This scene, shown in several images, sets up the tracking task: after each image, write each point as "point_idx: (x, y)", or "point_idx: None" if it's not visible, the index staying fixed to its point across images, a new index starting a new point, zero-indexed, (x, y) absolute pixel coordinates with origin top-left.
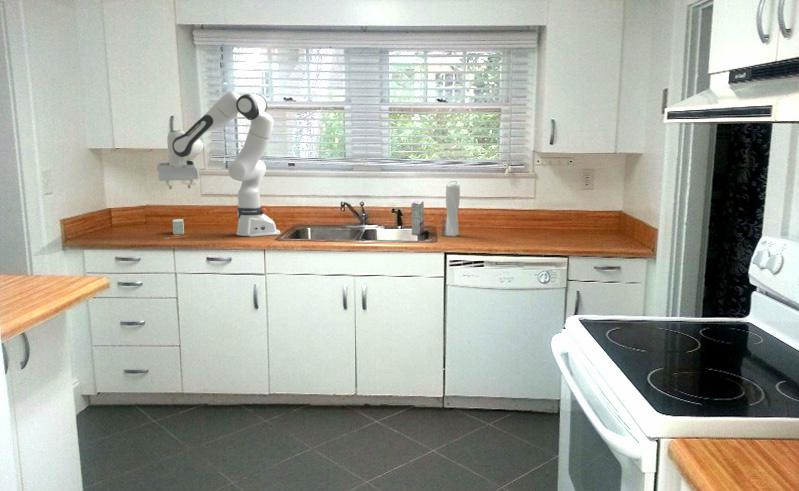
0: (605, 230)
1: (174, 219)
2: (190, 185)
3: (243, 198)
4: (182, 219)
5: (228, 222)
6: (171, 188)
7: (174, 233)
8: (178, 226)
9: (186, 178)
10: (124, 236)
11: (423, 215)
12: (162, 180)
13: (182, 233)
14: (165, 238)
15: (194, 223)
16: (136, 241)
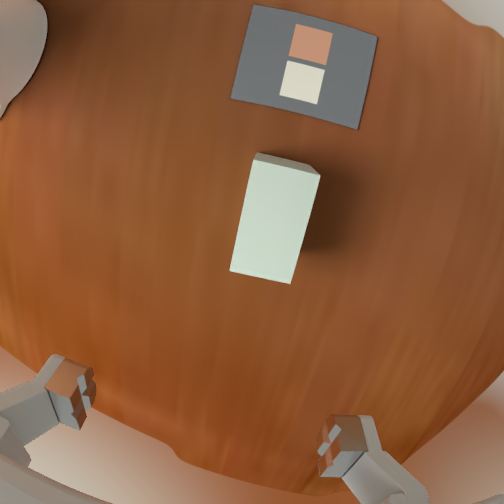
0: None
1: (283, 280)
2: (36, 378)
3: None
4: (236, 256)
5: None
6: (338, 418)
7: (304, 164)
8: (282, 162)
9: (19, 485)
10: (488, 239)
11: None
12: (485, 499)
13: (262, 154)
14: (370, 51)
15: (168, 424)
16: (481, 71)
